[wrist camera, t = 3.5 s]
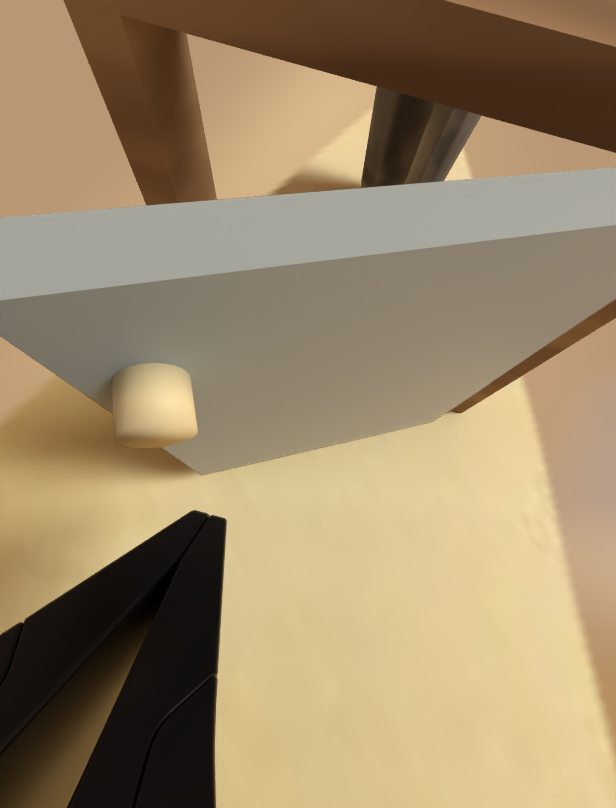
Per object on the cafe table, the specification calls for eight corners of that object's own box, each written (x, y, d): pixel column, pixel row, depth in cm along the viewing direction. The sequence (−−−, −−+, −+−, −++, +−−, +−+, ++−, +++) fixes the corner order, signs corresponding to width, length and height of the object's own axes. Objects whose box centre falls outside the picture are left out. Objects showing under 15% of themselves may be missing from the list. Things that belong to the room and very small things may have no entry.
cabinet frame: (461, 413, 17) (919, 129, 5) (199, 336, 17) (16, -117, 5) (465, 373, 18) (856, 55, 6) (216, 301, 18) (96, -149, 6)
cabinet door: (455, 437, 15) (831, 249, 5) (205, 499, 13) (-59, 396, 3) (437, 396, 16) (732, 158, 6) (198, 448, 14) (-30, 219, 4)
